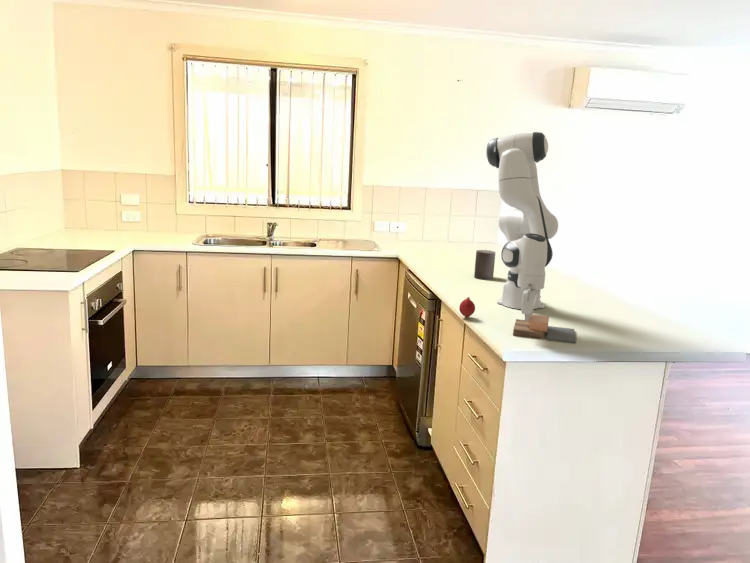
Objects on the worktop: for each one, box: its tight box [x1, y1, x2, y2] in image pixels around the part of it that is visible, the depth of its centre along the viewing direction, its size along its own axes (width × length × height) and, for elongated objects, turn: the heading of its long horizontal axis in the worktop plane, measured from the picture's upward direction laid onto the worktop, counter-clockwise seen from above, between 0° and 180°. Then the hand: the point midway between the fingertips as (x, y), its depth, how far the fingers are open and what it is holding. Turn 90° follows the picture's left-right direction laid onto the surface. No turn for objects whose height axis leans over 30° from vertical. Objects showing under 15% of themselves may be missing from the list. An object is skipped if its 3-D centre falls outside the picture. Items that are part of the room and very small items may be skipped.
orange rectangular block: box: [529, 314, 550, 332], centre depth 193 cm, size 9×6×3 cm, turn 161°
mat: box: [546, 325, 577, 344], centre depth 191 cm, size 15×9×1 cm, turn 163°
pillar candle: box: [473, 249, 496, 281], centre depth 285 cm, size 10×10×15 cm
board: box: [512, 318, 545, 340], centre depth 195 cm, size 14×10×2 cm
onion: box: [458, 296, 476, 319], centre depth 209 cm, size 6×6×8 cm
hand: (527, 321), depth 194 cm, fingers closed
